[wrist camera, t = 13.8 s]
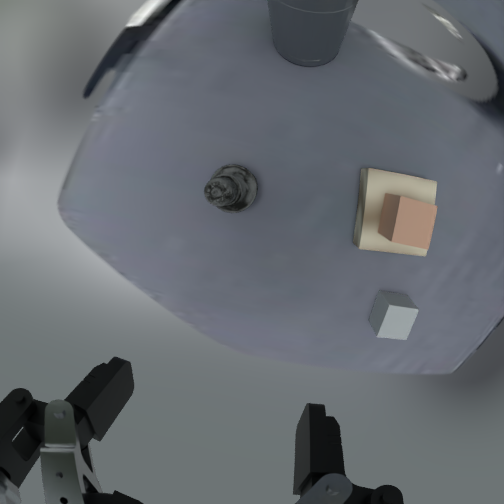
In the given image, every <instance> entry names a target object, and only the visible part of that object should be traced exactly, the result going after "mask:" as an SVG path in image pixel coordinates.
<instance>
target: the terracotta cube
mask: <svg viewBox="0 0 504 504" xmlns="http://www.w3.org/2000/svg"><path fill="white" fill-rule="evenodd" d="M437 207H438V206H435V205H431V204H428V203H424V202H421V201H417V200H414V199H410V198H406V197H403V196H398V195H393V194H388V193H385V197H384V202H383V208H382V213H381V218H380V223H379V228H378V233H379V234H380V235H382V236H383V237H385V238H386V239H388V240H389V241H391V242H394V243H399V244H404V245H408V246H413V247H418V248H423V249H427V250H428V248H429V244H430V240H431V236H432V231H433V227H434V222H435V217H436V212H437Z"/></svg>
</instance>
